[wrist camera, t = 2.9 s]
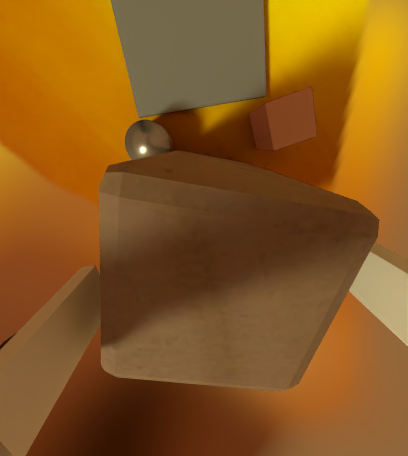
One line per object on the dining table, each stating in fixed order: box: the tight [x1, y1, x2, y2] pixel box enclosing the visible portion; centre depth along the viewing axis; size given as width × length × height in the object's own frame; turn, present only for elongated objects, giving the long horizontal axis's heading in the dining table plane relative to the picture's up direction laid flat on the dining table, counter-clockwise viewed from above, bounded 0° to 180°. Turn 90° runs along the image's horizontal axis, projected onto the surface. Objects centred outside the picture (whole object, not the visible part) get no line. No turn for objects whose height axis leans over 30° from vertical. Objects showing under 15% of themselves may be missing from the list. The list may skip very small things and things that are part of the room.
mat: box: [111, 0, 266, 118], centre depth 20 cm, size 14×14×1 cm
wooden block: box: [99, 150, 379, 391], centre depth 17 cm, size 10×10×20 cm
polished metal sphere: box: [125, 120, 174, 160], centre depth 22 cm, size 4×4×4 cm
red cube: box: [249, 86, 317, 151], centre depth 21 cm, size 4×4×6 cm
